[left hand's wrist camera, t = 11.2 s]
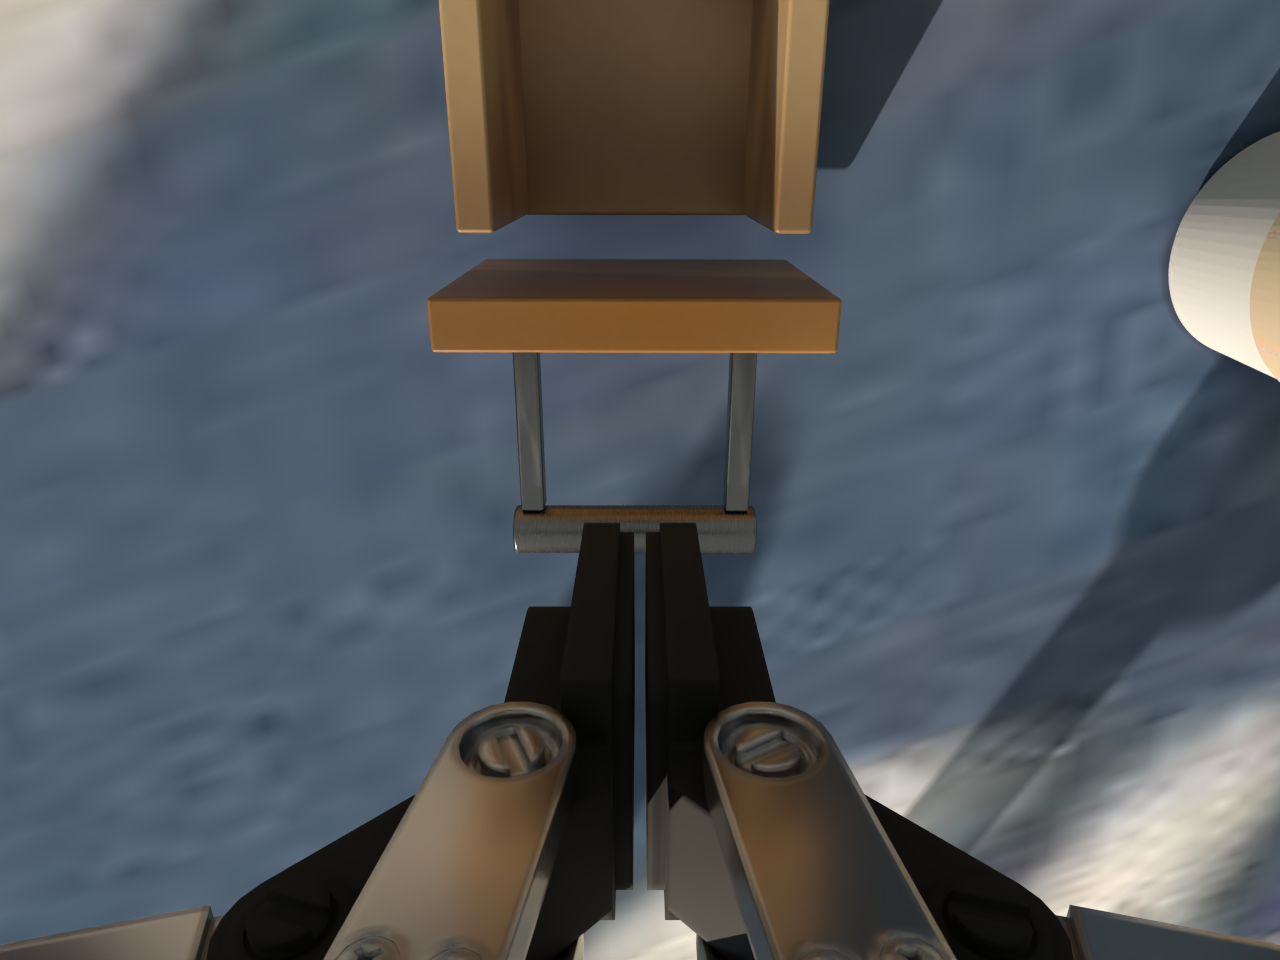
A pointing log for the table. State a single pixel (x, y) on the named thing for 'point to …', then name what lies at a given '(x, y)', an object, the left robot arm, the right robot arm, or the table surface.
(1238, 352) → the coffee cup
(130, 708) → the table surface
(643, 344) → the drawer
